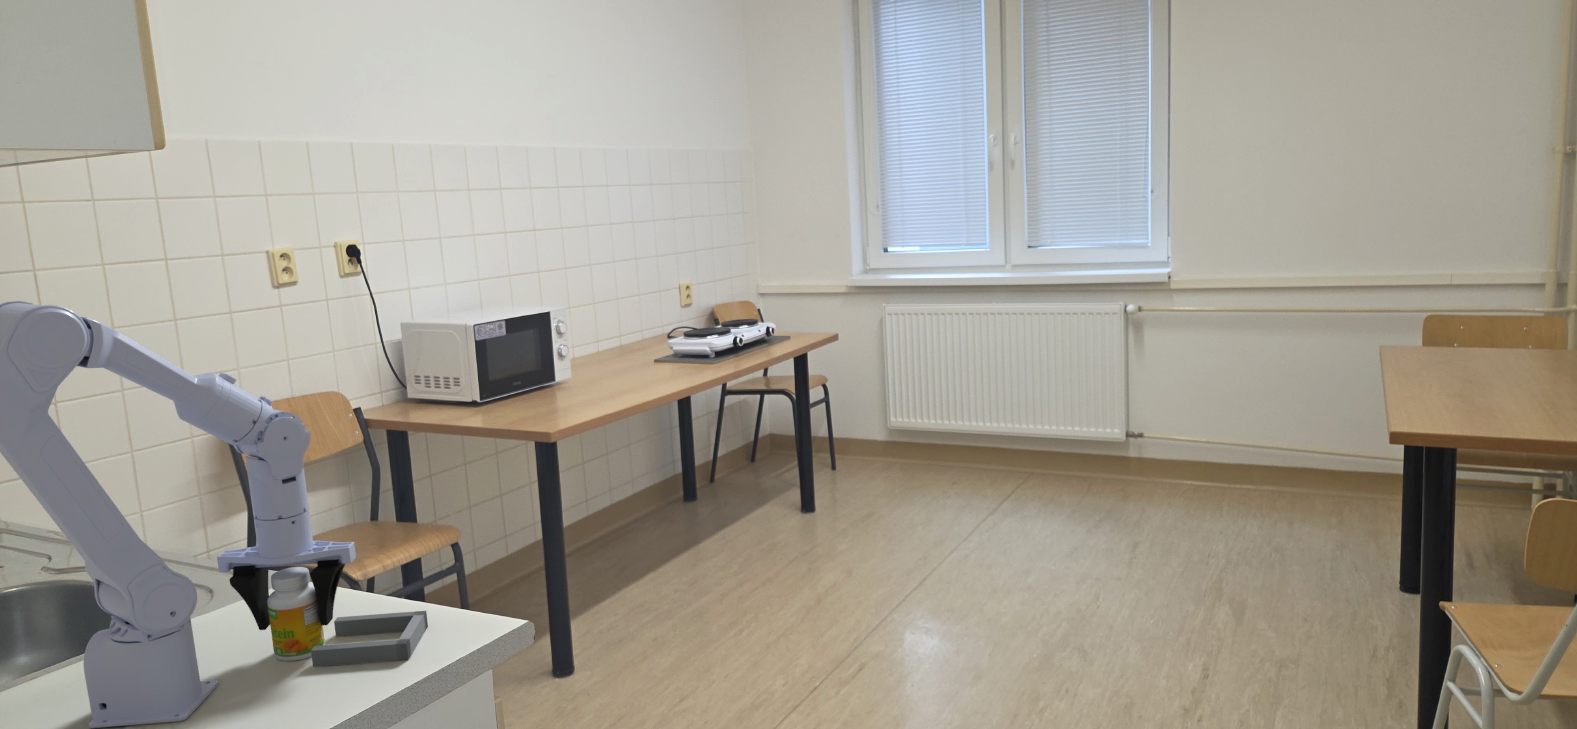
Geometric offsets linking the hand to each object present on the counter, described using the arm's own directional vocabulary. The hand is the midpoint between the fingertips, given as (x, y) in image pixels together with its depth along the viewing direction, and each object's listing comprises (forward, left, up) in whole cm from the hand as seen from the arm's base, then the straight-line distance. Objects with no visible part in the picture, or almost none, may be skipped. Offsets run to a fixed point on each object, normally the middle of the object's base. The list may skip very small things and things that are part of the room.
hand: (296, 624), depth 120 cm
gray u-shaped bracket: (+9, 0, -3) cm, 10 cm away
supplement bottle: (0, 0, -4) cm, 4 cm away
